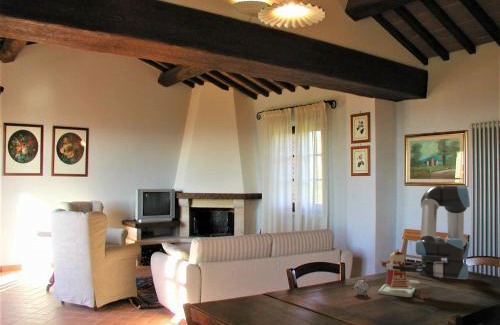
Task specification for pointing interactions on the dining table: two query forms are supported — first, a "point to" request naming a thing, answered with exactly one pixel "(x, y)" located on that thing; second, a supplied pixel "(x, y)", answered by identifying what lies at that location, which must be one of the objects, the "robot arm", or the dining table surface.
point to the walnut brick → (422, 293)
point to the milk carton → (397, 272)
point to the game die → (361, 287)
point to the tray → (396, 291)
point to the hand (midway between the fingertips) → (388, 264)
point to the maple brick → (414, 284)
